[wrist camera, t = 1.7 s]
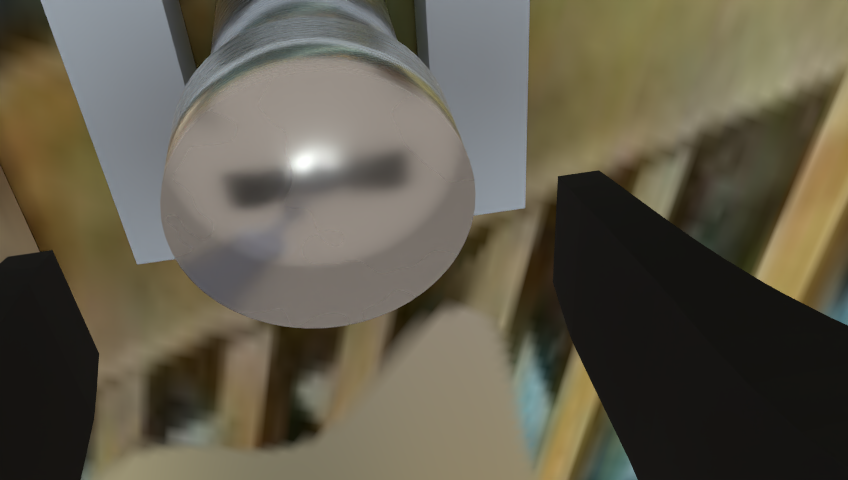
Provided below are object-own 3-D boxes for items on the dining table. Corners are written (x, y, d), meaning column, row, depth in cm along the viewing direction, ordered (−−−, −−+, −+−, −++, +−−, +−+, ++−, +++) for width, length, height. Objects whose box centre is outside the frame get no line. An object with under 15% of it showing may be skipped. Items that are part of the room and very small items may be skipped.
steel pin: (413, 99, 21) (478, 305, 15) (219, 124, 21) (202, 347, 14) (397, -102, 18) (471, 51, 12) (168, -77, 17) (118, 95, 11)
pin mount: (506, 167, 23) (525, 207, 21) (145, 217, 22) (137, 264, 20) (508, -243, 17) (535, -227, 15) (5, -195, 16) (-24, -174, 14)
